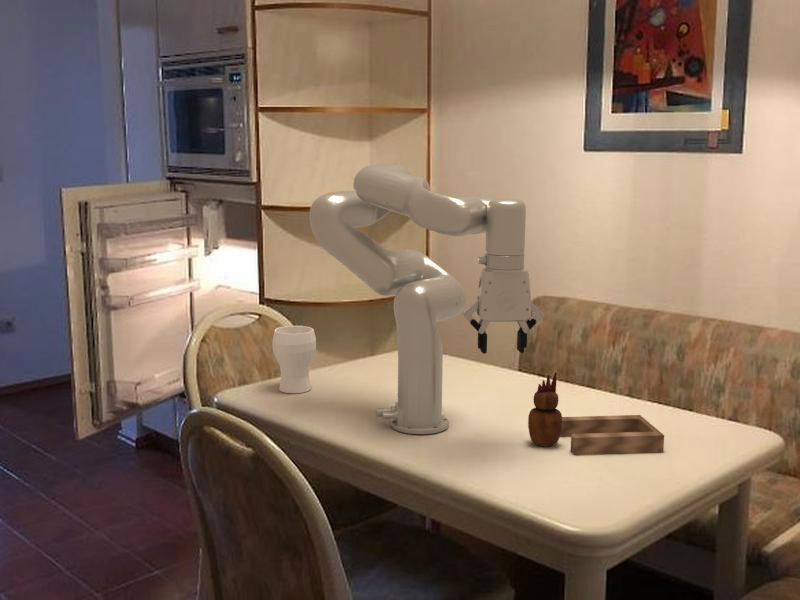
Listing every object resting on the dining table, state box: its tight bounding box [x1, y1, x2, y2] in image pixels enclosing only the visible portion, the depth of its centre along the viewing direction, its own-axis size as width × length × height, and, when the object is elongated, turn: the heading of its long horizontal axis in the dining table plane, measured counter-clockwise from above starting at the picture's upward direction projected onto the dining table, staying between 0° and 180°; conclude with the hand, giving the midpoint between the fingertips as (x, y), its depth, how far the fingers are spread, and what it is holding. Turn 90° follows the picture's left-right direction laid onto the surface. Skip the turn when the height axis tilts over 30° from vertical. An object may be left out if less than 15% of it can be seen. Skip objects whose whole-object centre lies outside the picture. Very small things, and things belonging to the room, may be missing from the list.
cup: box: [272, 325, 317, 394], centre depth 221 cm, size 11×11×15 cm
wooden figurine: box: [527, 371, 563, 448], centre depth 183 cm, size 7×6×15 cm
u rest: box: [559, 414, 665, 456], centre depth 185 cm, size 18×13×4 cm
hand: (501, 351), depth 180 cm, fingers open, 6 cm apart
